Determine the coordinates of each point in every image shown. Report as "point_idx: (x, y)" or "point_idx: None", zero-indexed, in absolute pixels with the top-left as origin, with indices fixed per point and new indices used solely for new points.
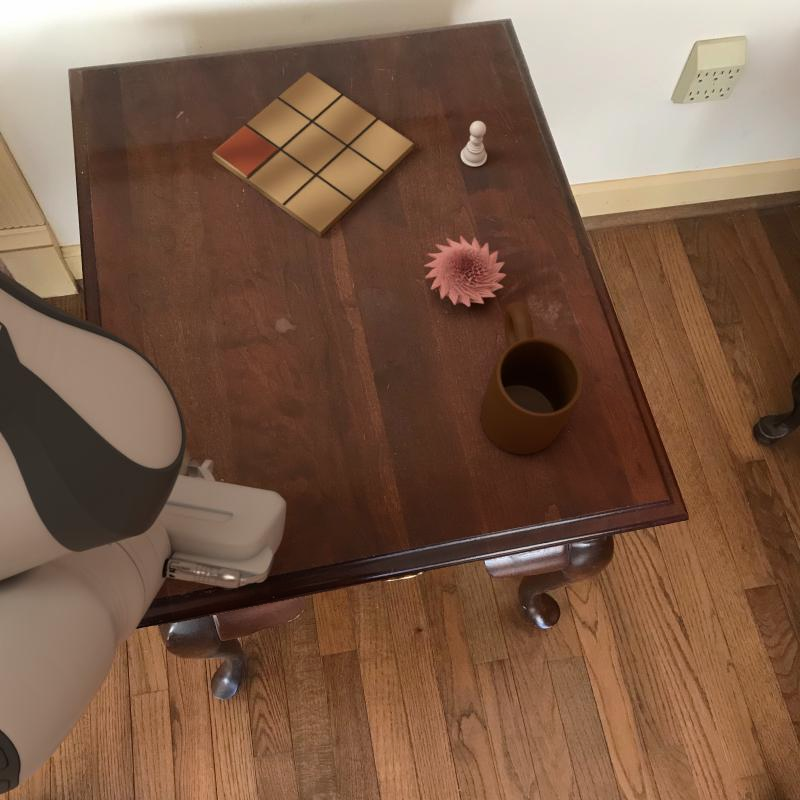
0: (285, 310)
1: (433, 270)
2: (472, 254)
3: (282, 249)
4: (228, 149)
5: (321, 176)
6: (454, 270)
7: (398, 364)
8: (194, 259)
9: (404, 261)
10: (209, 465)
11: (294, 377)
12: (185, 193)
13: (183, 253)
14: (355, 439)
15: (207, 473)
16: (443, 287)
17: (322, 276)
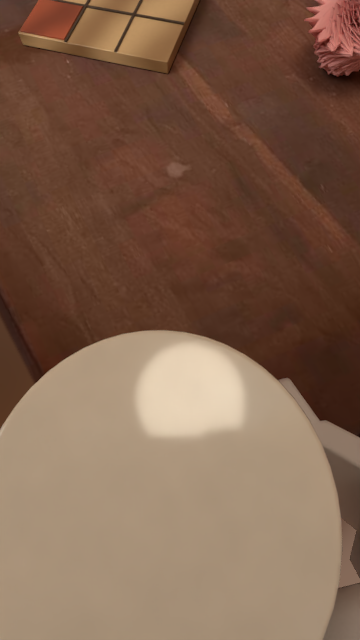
0: (170, 154)
1: (322, 32)
2: None
3: (135, 98)
4: (33, 23)
5: (140, 14)
6: (357, 10)
7: (318, 161)
8: (48, 141)
9: (263, 64)
10: (304, 401)
11: (217, 217)
12: (9, 84)
13: (33, 140)
14: (322, 256)
15: (357, 448)
16: (346, 43)
17: (190, 108)
